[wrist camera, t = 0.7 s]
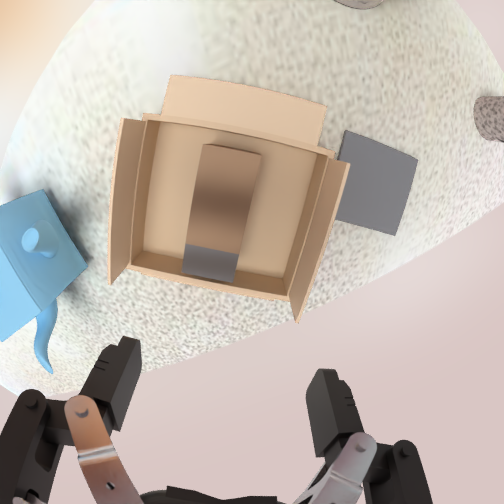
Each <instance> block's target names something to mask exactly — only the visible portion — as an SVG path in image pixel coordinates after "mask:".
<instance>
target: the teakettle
mask: <svg viewBox="0 0 504 504" xmlns="http://www.w3.org/2000/svg"><path fill="white" fill-rule="evenodd" d="M87 267H88V265H87V263H86V262H85V260H84V259H83V257H82V256H81V254H80V253H79V251H78V250H77V248H76V246H75V245H74V243H73V242H72V240H71V238H70V237H69V235H68V233H67V232H66V230H65V228H64V227H63V225H62V223H61V221H60V220H59V218H58V216H57V214H56V212H55V211H54V209H53V207H52V205H51V203H50V201H49V199H48V197H47V196H46V194H45V192H44V190H43V189H42V190H39V191H36V192H34V193H31V194H28V195H26V196H23V197H20V198H18V199H15V200H13V201H11V202H8V203H6V204H3V205H1V206H0V341H1V342H3V341H5V340H6V339H7V338H8V337H10V336H11V335H12V334H14V333H15V332H16V331H17V330H19V329H20V328H21V327H23V326H24V325H25V324H27V323H28V322H29V321H31V320H32V319H33V318H35V317H36V319H37V332H36V336H35V340H34V351H35V355H36V357H37V359H38V361H39V362H40V364H41V365H42V366H43V367H44V368H45V369H46V370H47V371H48V372H49V373H51V374H53V370H52V367H51V365H50V362H49V359H48V353H47V348H48V342H49V339H50V336H51V333H52V331H53V328H54V326H55V323H56V319H57V312H58V308H57V301H56V297H57V296H58V295H59V294H60V293H61V292H62V291H63V290H64V289H65V288H66V287H67V286H68V285H69V284H70V283H71V282H72V281H73V280H74V279H75V278H77V277H78V276H79V275H80V274H81V273H82V272H83V271H84V270H85V269H86V268H87Z"/></svg>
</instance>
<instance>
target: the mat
mask: <svg viewBox="0 0 504 504" xmlns="http://www.w3.org/2000/svg"><path fill="white" fill-rule="evenodd" d="M338 160H339V161H343V162H347V163H350V168H349V172H348V176H347V179H346V183H345V186H344V190H343V193H342V197H341V200H340V203H339V207H338V210H337V213H336V217H335V219H336V220H340V221H343V222H347V223H351V224H355V225H358V226H362V227H366V228H369V229H373V230H376V231H380V232H383V233H387V234H390V235H394V236H395V235H396V232H397V229H398V226H399V223H400V220H401V217H402V214H403V211H404V208H405V205H406V202H407V199H408V195H409V192H410V189H411V185H412V182H413V178H414V174H415V171H416V167H417V163H418V159H415V158H413V157H411V156H409V155H407V154H405V153H402V152H400V151H398V150H396V149H393V148H391V147H389V146H386V145H384V144H381V143H379V142H376V141H374V140H371V139H369V138H366V137H363V136H361V135H358V134H355V133H353V132H350V131H347V130H345V132H344V136H343V140H342V144H341V148H340V152H339V156H338Z"/></svg>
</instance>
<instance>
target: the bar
mask: <svg viewBox="0 0 504 504" xmlns="http://www.w3.org/2000/svg"><path fill="white" fill-rule="evenodd" d="M261 159H262V155H261V154H259V153H256V152H252V151H247V150H242V149H237V148H232V147H227V146H222V145H217V144H203V146H202V151H201V156H200V161H199V166H198V171H197V176H196V181H195V187H194V193H193V198H192V204H191V210H190V216H189V223H188V229H187V236H186V243H185V250H184V257H183V265H182V272H181V273H186V274H191V275H196V276H201V277H205V278H210V279H215V280H220V281H225V282H231V283H233V280H234V276H235V271H236V267H237V262H238V258H239V253H240V249H241V245H242V240H243V236H244V231H245V227H246V223H247V218H248V214H249V210H250V205H251V201H252V197H253V192H254V188H255V184H256V180H257V175H258V171H259V167H260V163H261Z"/></svg>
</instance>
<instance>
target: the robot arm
mask: <svg viewBox="0 0 504 504" xmlns="http://www.w3.org/2000/svg"><path fill="white" fill-rule="evenodd" d="M336 1H337V2H339V3H342V4H344V5H346V6H350V7H353V8H359V9H368V8H373V7H375V6H377V5H379V4H380V3H381V2H382V1H383V0H336ZM141 367H142V360H141V345H140V340H138V339H134V338H130V337H126V336H123V337H122V338H121V340H120V342H119V344H118V346H116V345H113V344H110V345H109V346H108V347H106V348H105V349H104V350H102V352H101V354H100V356H99V358H98V360H97V361H96V363H95V365H94V368H93V369H92V370H91V372H90V374H89V376H88V378H87V380H86V382H85V384H84V386H83V388H82V390H81V392H80V393H79V394H78V395H77V396H74V397H71V398H70V399H69V400H67V401H59V400H50V399H46V398H45V396H44V395H43V394H42V393H41V392H40V391H38V390H35V389H28V390H25V391H24V392H22V393H21V394H20V396H19V397H18V399H17V401H16V403H15V405H14V407H13V409H12V411H11V413H10V415H9V417H8V419H7V422H6V424H5V426H4V428H3V430H2V433H1V435H0V504H48V500H49V496H50V492H51V488H52V484H53V481H54V477H55V473H56V470H57V466H58V463H59V460H60V457H61V453H62V450H63V447H64V445H68V446H75V447H76V450H77V452H78V461H79V464H80V467H81V469H82V472H83V474H84V477H85V479H86V481H87V484H88V486H89V488H90V490H91V492H92V495H93V497H94V499H95V501H96V503H97V504H285V503H282V502H278V501H277V496H247V497H241V498H235V499H227V500H221V499H217V498H214V497H211V496H208V495H205V494H202V493H199V492H197V491H193V490H187V489H182V488H177V487H171V486H167V490H158V491H151V492H148V493H145V494H142V495H139V494H138V492H137V490H136V489H135V487H134V485H133V483H132V482H131V480H130V478H129V476H128V474H127V473H126V470H125V469H124V467H123V465H122V463H121V461H120V459H119V457H118V454H117V452H116V450H115V448H114V446H113V444H112V441H111V439H110V436H111V433H112V430H116V431H119V432H120V430H121V427H122V424H123V421H124V418H125V415H126V412H127V409H128V406H129V403H130V401H131V398H132V395H133V392H134V390H135V387H136V384H137V381H138V379H139V376H140V373H141ZM306 403H307V409H308V414H309V420H310V425H311V431H312V436H313V443H314V448H315V454H316V457H325V463H324V464H323V465H322V467H321V468H320V470H319V471H318V473H317V474H316V476H315V477H314V478H313V480H312V481H311V483H310V484H309V485H308V487H307V488H306V490H305V491H304V492H303V493H302V494H301V495H300V496H299V498H297V499H296V500H295V502H294V503H293V504H356V502H357V500H358V499H359V497H360V495H361V493H362V490H363V487H364V493H365V499H366V504H433V502H432V498H431V494H430V491H429V487H428V484H427V480H426V477H425V473H424V470H423V467H422V463H421V460H420V457H419V454H418V451H417V448H416V446H415V445H414V444H413V443H412V442H410V441H408V440H400V441H398V442H396V443H395V444H394V445H387V444H380V443H376V441H375V440H374V438H373V437H372V436H370V435H369V434H366V433H365V432H364V430H363V426H362V423H361V420H360V416H359V414H358V410H357V408H356V406H355V401H354V399H353V395H352V392H351V389H350V388H349V386H348V385H347V384H346V383H345V381H344V380H339V378H338V375H337V372H336V370H334V369H318V370H317V372H316V374H315V376H314V378H313V379H312V381H311V383H310V385H309V387H308V389H307V392H306ZM362 482H363V487H361V483H362Z"/></svg>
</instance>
